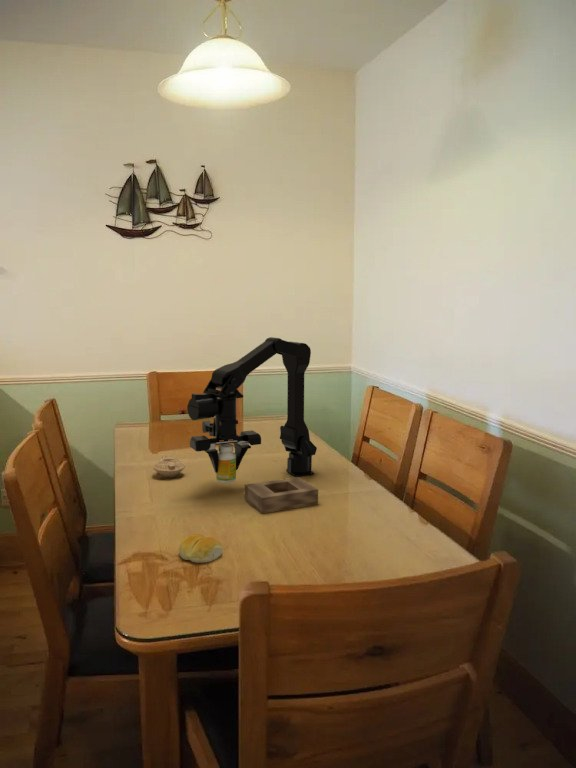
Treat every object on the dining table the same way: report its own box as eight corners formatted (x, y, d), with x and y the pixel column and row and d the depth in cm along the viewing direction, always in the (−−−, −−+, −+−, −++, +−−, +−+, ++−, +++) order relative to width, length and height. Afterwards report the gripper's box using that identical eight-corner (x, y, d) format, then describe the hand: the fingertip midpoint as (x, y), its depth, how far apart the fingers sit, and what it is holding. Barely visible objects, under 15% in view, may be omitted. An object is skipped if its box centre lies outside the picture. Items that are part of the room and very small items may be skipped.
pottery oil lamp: (179, 465, 188) (187, 447, 185) (178, 489, 177) (187, 471, 174) (151, 457, 185) (159, 439, 182) (149, 481, 174) (158, 463, 172)
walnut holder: (298, 491, 166) (298, 477, 166) (317, 504, 157) (318, 489, 156) (244, 499, 159) (244, 484, 159) (261, 513, 150) (261, 498, 149)
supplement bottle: (232, 483, 162) (232, 448, 161) (213, 482, 163) (213, 447, 162) (238, 477, 168) (238, 443, 166) (219, 476, 169) (219, 442, 167)
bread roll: (196, 543, 133) (196, 526, 132) (228, 553, 128) (228, 535, 127) (169, 556, 126) (169, 538, 125) (202, 568, 121) (202, 549, 120)
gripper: (246, 407, 174) (246, 459, 176) (183, 412, 166) (184, 467, 168) (262, 414, 164) (261, 469, 166) (196, 420, 156) (196, 478, 158)
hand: (226, 471), depth 165 cm, fingers closed on supplement bottle, 5 cm apart
